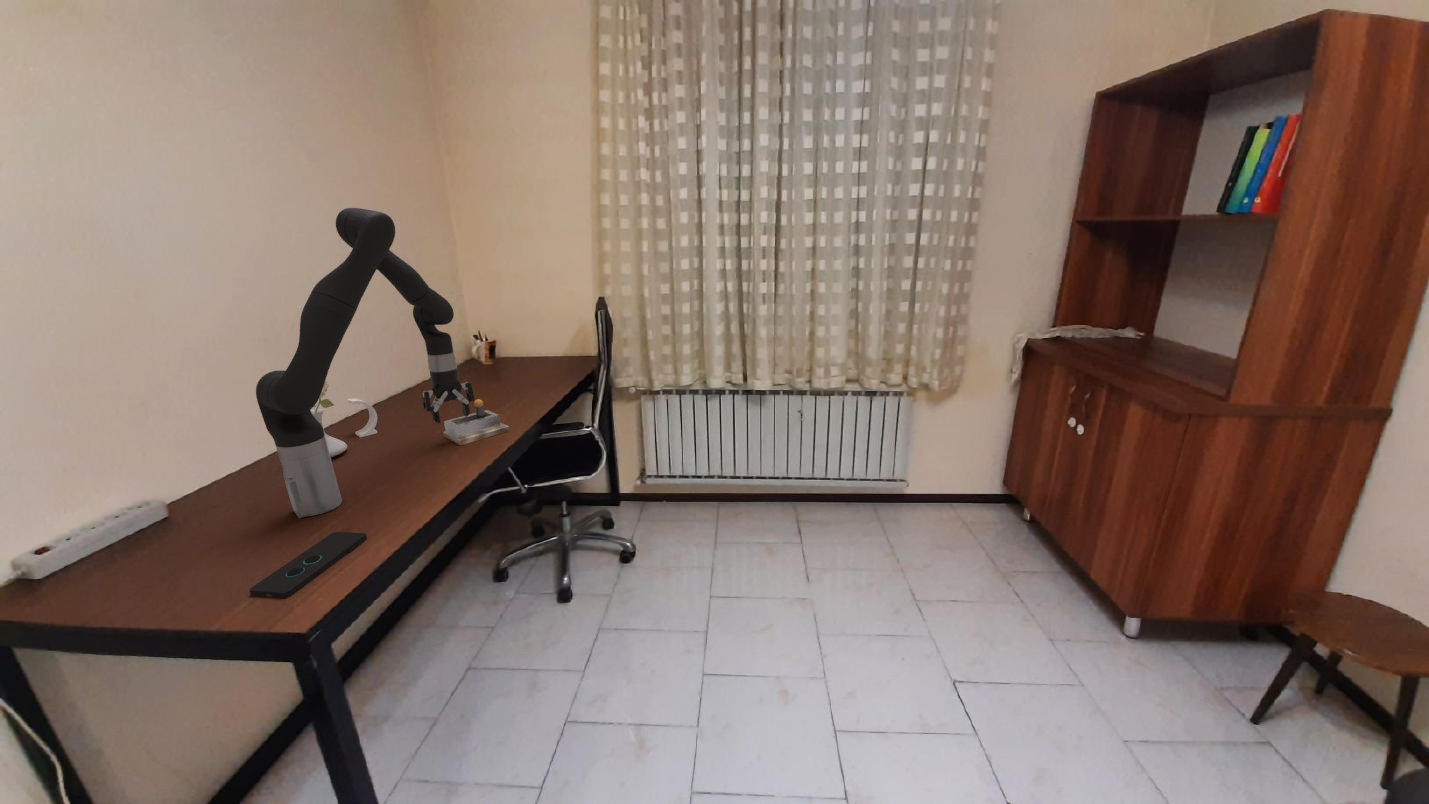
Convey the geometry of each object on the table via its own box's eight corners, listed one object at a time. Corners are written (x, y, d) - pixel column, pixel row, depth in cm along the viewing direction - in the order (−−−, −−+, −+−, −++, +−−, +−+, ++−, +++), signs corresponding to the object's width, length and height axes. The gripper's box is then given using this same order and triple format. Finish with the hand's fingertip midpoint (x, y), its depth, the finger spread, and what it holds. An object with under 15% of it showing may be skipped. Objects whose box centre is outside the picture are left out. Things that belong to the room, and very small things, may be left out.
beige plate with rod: (460, 445, 167) (453, 411, 164) (444, 436, 175) (437, 403, 171) (509, 430, 178) (504, 398, 175) (492, 422, 186) (487, 391, 182)
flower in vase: (292, 462, 158) (267, 378, 151) (327, 447, 169) (306, 367, 161) (328, 465, 155) (306, 379, 148) (362, 449, 166) (342, 369, 158)
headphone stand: (355, 434, 179) (346, 399, 175) (376, 429, 183) (367, 394, 180) (360, 437, 176) (351, 401, 172) (381, 432, 180) (372, 397, 177)
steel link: (456, 439, 168) (454, 426, 167) (446, 433, 173) (443, 421, 172) (500, 426, 177) (498, 414, 176) (489, 421, 183) (487, 409, 182)
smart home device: (246, 589, 100) (333, 531, 118) (248, 597, 100) (335, 538, 119) (286, 592, 98) (368, 532, 117) (289, 600, 99) (369, 539, 118)
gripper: (423, 374, 157) (433, 428, 162) (472, 365, 167) (480, 415, 172) (413, 370, 162) (423, 422, 167) (461, 361, 172) (470, 410, 177)
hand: (452, 419), depth 170 cm, fingers open, 8 cm apart
